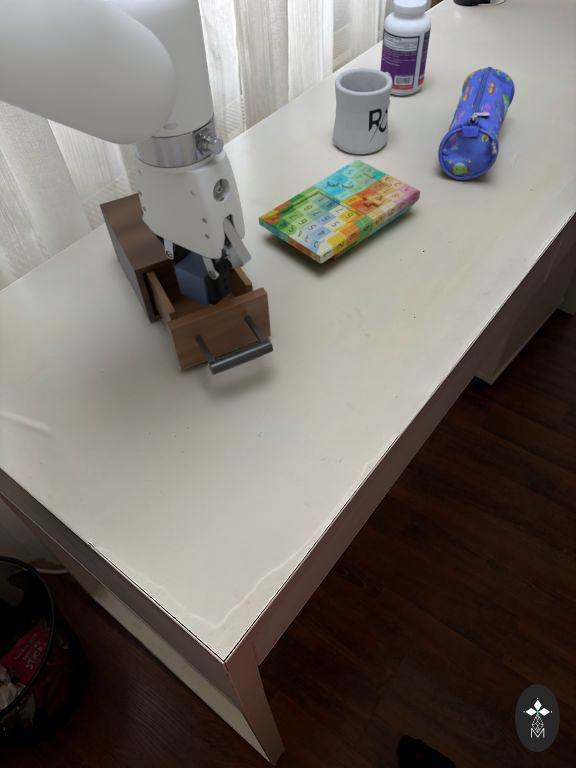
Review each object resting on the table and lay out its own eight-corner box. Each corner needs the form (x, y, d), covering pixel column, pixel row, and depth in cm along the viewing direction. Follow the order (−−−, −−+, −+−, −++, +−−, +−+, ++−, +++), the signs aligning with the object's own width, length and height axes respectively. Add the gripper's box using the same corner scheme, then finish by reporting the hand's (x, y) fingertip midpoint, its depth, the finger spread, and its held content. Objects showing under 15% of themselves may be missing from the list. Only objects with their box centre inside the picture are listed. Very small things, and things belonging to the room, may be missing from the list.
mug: (365, 162, 95) (370, 100, 87) (321, 144, 98) (322, 83, 91) (408, 131, 100) (416, 70, 92) (365, 115, 104) (369, 55, 96)
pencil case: (488, 190, 89) (504, 129, 81) (431, 180, 91) (441, 120, 83) (507, 119, 101) (523, 61, 94) (457, 112, 103) (468, 54, 96)
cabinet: (242, 290, 77) (235, 236, 70) (150, 323, 74) (134, 270, 67) (201, 229, 85) (191, 176, 78) (116, 257, 82) (99, 204, 75)
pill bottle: (403, 73, 113) (412, -12, 102) (431, 89, 109) (445, 1, 98) (369, 85, 111) (376, -1, 100) (397, 102, 107) (407, 13, 95)
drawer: (293, 367, 67) (291, 325, 62) (199, 406, 64) (189, 365, 59) (226, 270, 78) (220, 227, 73) (144, 299, 75) (131, 257, 70)
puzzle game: (421, 185, 82) (319, 250, 74) (416, 213, 86) (319, 279, 78) (359, 154, 88) (258, 212, 79) (357, 182, 91) (260, 240, 83)
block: (207, 307, 65) (202, 279, 62) (180, 293, 67) (173, 266, 64) (230, 286, 67) (225, 258, 64) (203, 273, 69) (197, 246, 65)
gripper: (275, 142, 51) (284, 298, 65) (136, 95, 58) (172, 246, 72) (220, 184, 47) (242, 339, 62) (78, 129, 54) (128, 281, 68)
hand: (204, 288), depth 67 cm, fingers closed on block, 4 cm apart
